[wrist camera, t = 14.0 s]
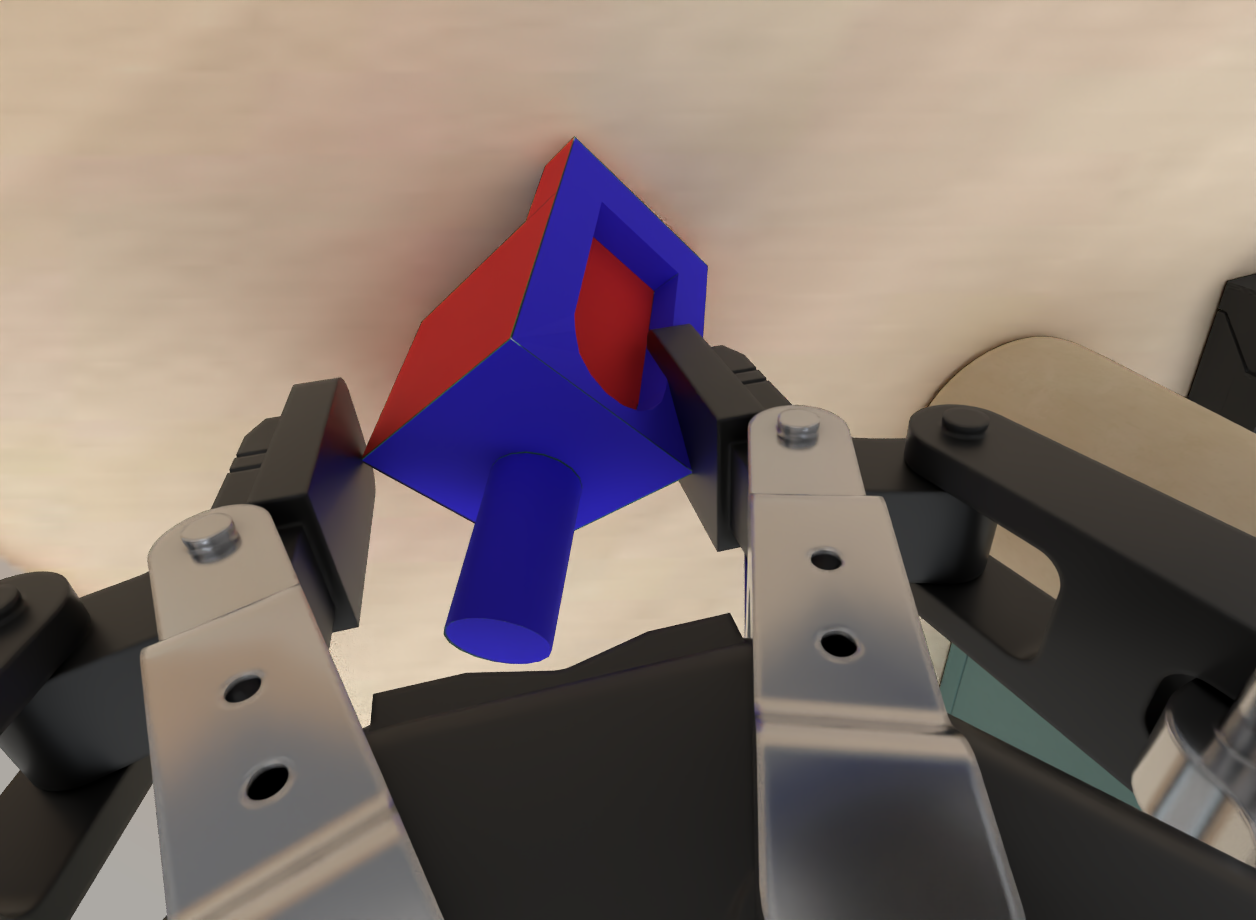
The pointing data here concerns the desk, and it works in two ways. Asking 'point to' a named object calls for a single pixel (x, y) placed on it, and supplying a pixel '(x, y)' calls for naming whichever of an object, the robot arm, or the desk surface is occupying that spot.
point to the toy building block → (543, 397)
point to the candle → (1110, 433)
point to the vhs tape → (1231, 357)
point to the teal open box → (1018, 723)
